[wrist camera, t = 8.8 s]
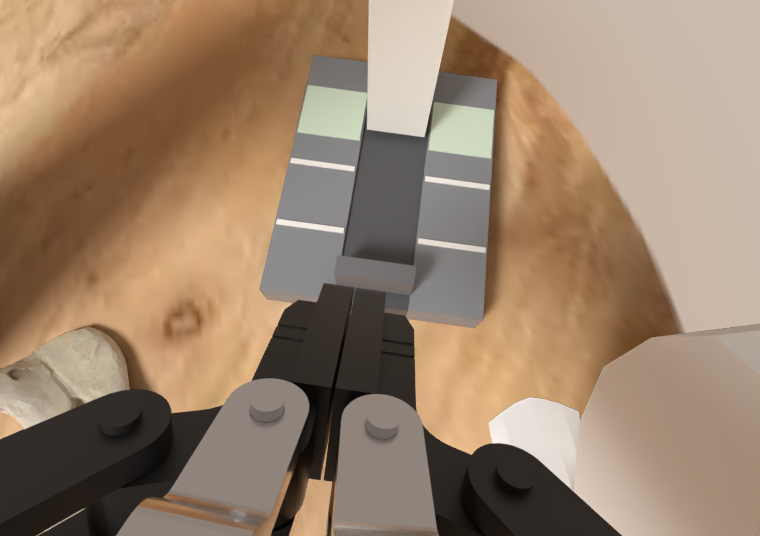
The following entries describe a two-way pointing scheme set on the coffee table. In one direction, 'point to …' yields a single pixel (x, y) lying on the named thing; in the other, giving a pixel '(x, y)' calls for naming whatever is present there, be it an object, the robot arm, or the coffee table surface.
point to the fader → (404, 62)
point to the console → (387, 199)
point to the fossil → (62, 377)
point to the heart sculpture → (659, 436)
